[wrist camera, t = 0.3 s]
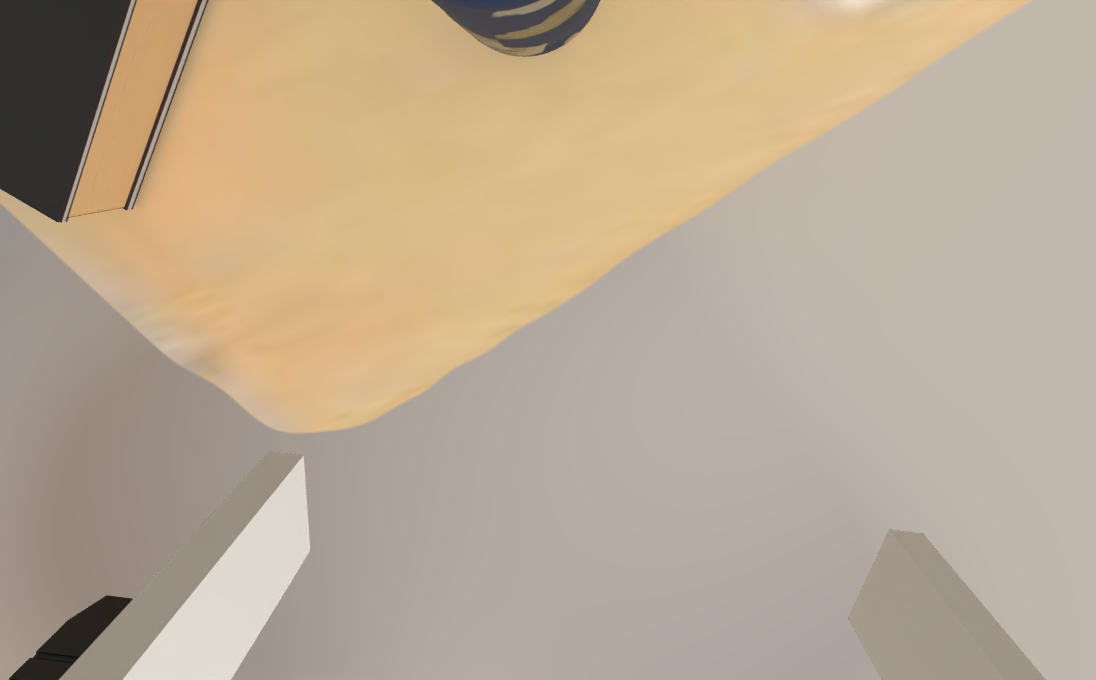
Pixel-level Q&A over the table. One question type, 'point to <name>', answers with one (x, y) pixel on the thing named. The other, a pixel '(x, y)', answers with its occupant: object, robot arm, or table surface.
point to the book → (87, 97)
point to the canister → (521, 22)
